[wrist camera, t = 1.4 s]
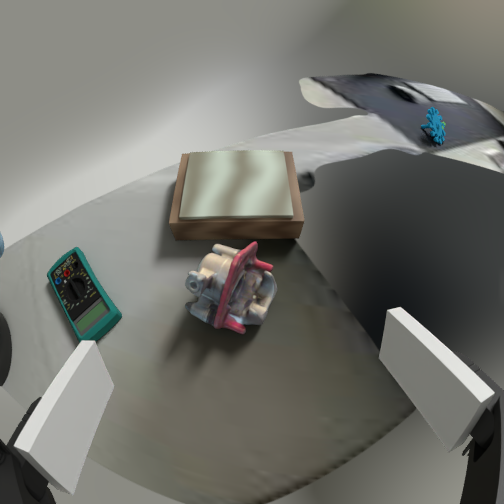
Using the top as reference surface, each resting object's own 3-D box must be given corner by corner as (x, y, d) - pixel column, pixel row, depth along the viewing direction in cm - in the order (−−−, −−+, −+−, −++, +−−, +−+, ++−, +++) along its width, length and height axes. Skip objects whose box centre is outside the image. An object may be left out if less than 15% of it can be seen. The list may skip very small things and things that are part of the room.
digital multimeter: (82, 250, 39) (74, 241, 36) (125, 318, 34) (116, 312, 32) (52, 277, 36) (42, 270, 34) (90, 349, 32) (79, 345, 29)
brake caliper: (273, 355, 30) (202, 306, 23) (210, 337, 37) (144, 293, 30) (304, 271, 35) (253, 206, 28) (242, 270, 42) (189, 218, 35)
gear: (435, 144, 53) (427, 105, 50) (417, 145, 58) (409, 108, 55) (450, 143, 57) (443, 108, 54) (434, 143, 62) (427, 110, 59)
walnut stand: (175, 240, 40) (167, 220, 35) (186, 172, 46) (181, 151, 42) (298, 238, 40) (305, 218, 36) (288, 170, 47) (292, 149, 42)
